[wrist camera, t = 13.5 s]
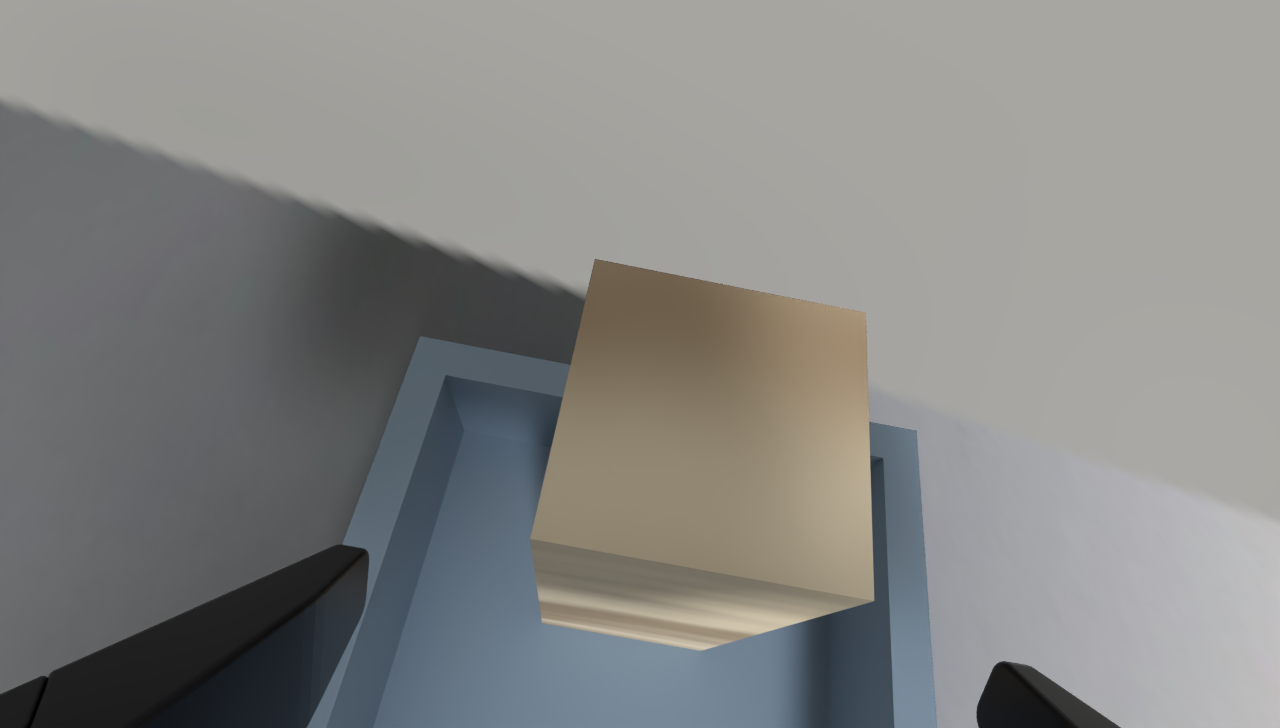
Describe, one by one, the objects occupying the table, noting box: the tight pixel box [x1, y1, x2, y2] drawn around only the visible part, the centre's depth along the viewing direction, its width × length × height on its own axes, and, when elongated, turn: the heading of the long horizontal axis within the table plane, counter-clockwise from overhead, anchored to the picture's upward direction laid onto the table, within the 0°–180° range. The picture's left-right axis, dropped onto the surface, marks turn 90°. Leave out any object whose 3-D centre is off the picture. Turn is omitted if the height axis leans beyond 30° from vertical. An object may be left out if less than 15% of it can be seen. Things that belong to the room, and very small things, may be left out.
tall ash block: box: [530, 259, 874, 651], centre depth 14 cm, size 5×5×11 cm
